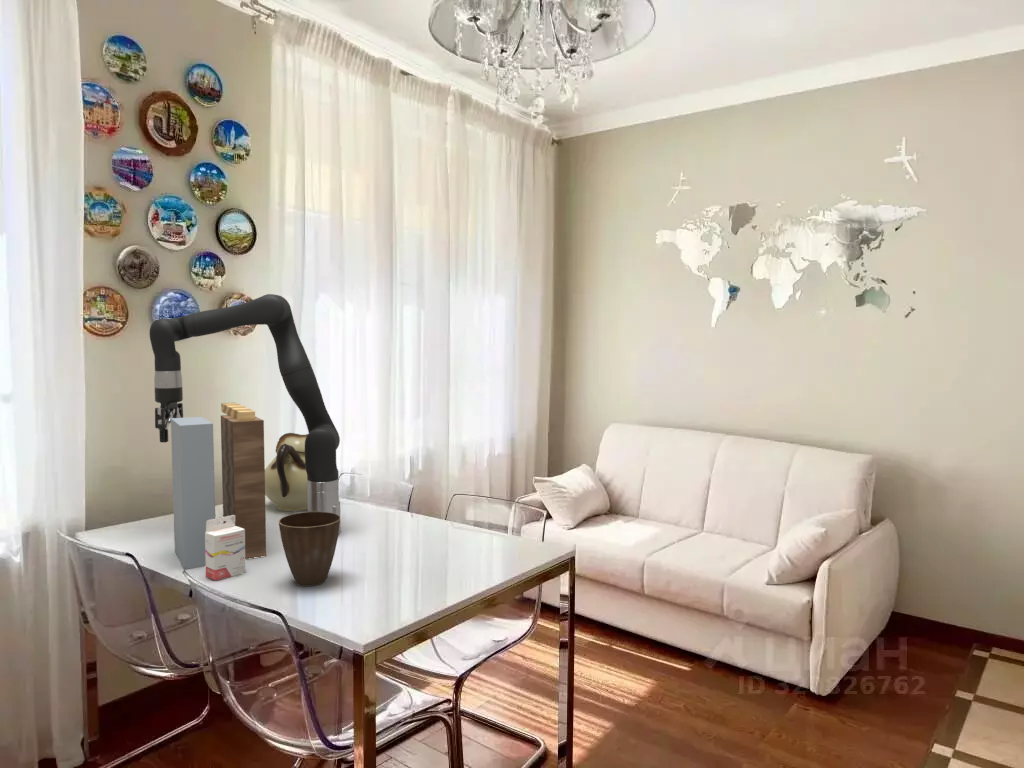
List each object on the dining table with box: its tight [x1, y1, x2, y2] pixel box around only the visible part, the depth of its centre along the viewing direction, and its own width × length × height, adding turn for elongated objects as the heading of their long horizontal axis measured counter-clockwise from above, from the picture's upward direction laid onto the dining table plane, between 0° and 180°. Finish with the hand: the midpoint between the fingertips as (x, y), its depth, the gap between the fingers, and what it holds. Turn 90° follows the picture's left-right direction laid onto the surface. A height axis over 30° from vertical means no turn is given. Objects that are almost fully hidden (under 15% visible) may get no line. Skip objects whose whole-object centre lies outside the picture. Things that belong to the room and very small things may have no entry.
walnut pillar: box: [220, 414, 267, 560], centre depth 206 cm, size 16×8×38 cm, turn 33°
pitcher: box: [265, 432, 309, 512], centre depth 254 cm, size 22×24×25 cm
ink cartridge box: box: [205, 515, 246, 582], centre depth 187 cm, size 9×5×15 cm, turn 141°
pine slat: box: [220, 402, 256, 421], centre depth 208 cm, size 24×4×2 cm, turn 33°
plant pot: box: [278, 511, 341, 587], centre depth 184 cm, size 15×15×16 cm
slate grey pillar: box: [170, 416, 216, 570], centre depth 199 cm, size 16×8×38 cm, turn 33°
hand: (170, 439), depth 219 cm, fingers open, 8 cm apart
